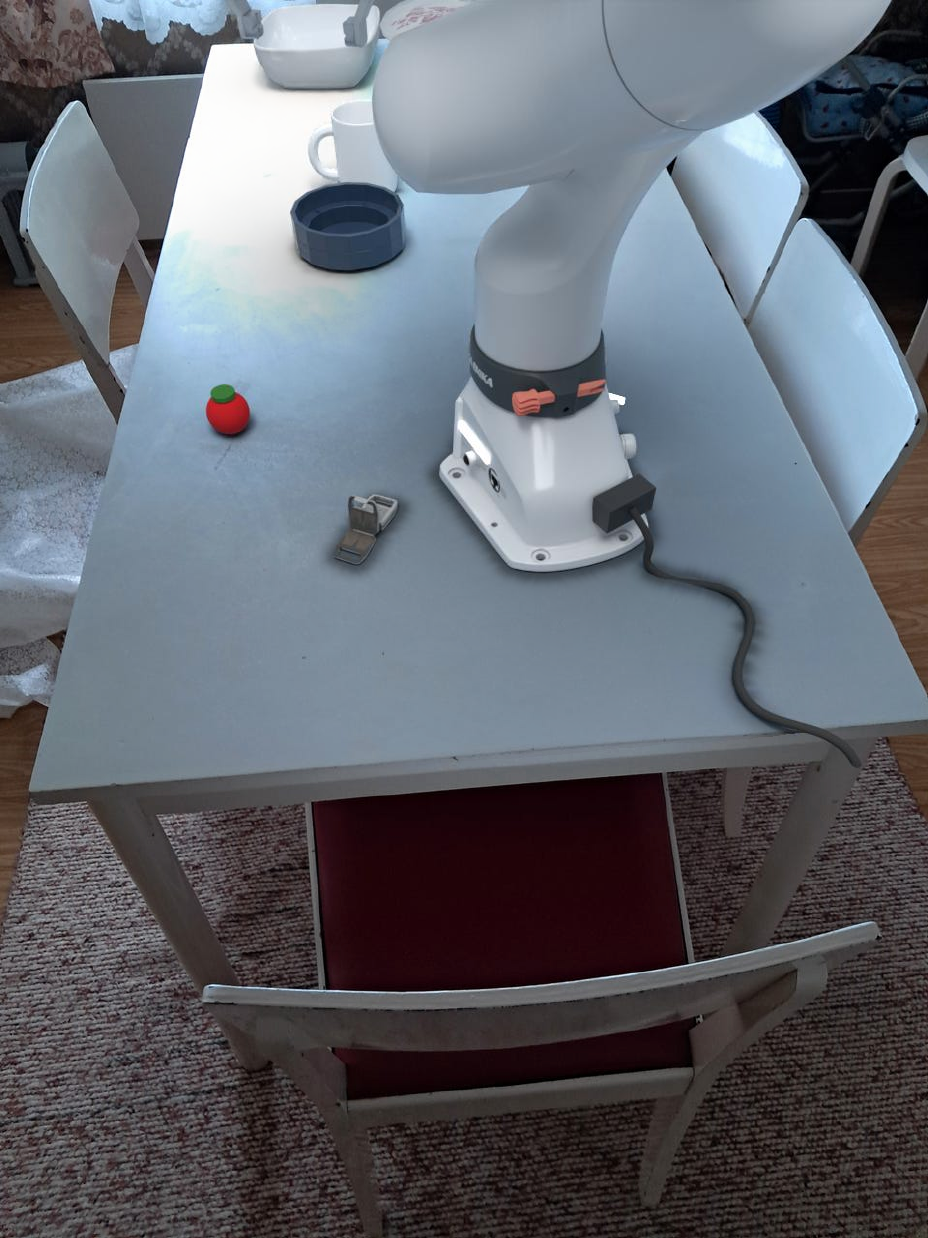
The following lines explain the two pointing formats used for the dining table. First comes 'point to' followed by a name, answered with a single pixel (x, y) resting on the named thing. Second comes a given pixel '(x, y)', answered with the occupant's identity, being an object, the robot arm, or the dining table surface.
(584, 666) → the dining table surface
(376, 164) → the mug
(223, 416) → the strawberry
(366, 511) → the strap clip
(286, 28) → the bowl
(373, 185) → the bowl
